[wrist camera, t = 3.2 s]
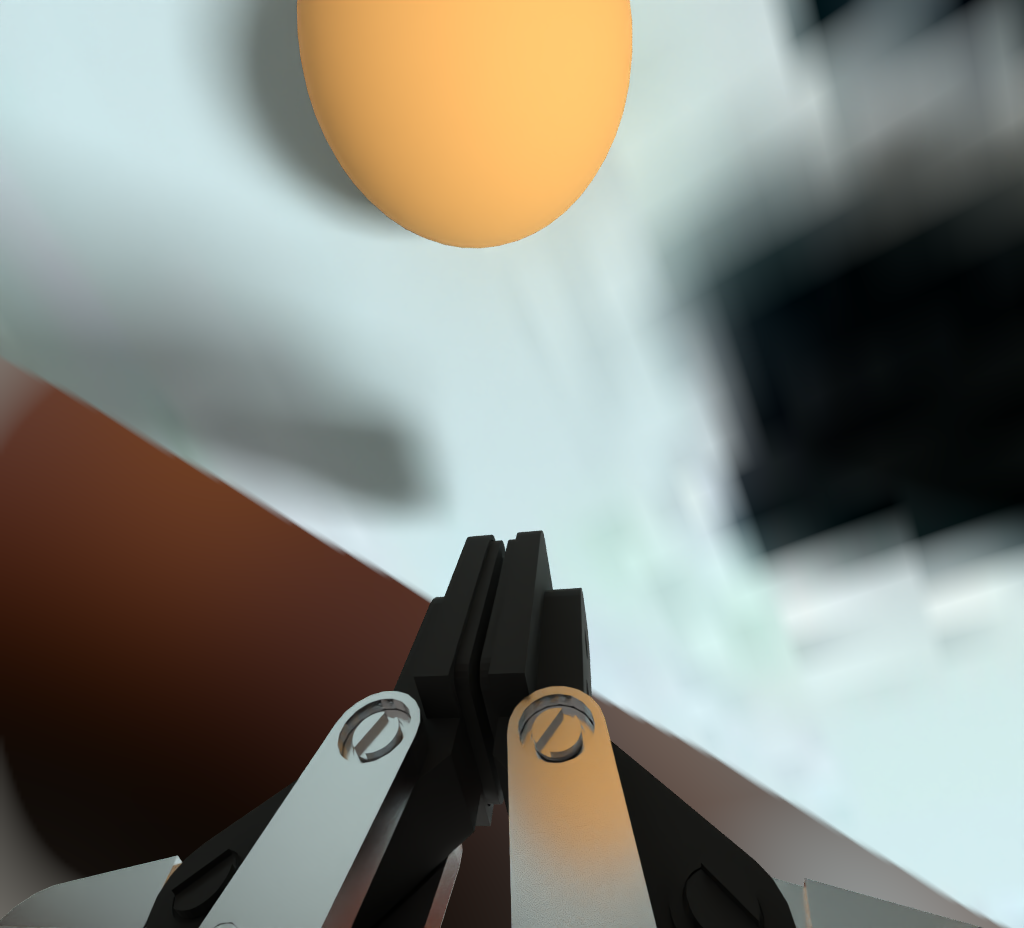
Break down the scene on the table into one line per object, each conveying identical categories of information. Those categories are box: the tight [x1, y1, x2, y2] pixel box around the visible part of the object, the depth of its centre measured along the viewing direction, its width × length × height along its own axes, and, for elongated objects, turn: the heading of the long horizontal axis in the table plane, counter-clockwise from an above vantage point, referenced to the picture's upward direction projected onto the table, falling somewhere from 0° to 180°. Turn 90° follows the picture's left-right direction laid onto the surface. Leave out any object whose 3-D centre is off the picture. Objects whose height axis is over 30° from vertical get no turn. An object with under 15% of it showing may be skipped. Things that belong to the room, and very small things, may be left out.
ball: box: [297, 0, 632, 248], centre depth 8 cm, size 6×6×6 cm
